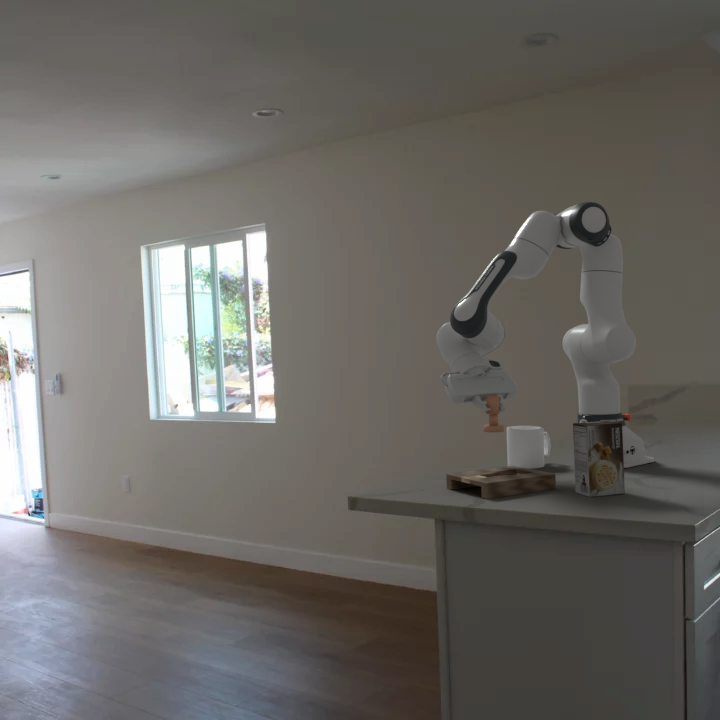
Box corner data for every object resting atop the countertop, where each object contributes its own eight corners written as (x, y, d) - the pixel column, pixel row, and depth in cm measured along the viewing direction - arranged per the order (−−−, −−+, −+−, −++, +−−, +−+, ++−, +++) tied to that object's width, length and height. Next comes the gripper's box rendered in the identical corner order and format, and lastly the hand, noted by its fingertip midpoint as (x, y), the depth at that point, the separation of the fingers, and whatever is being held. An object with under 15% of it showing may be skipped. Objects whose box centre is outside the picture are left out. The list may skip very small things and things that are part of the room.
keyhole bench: (512, 479, 202) (512, 465, 202) (555, 488, 188) (555, 473, 188) (446, 488, 193) (446, 473, 193) (487, 498, 179) (486, 483, 179)
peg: (495, 429, 208) (494, 395, 208) (507, 431, 204) (506, 395, 204) (479, 431, 206) (478, 396, 206) (491, 432, 201) (490, 397, 201)
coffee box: (609, 489, 186) (607, 420, 185) (625, 494, 179) (623, 422, 179) (574, 492, 183) (572, 422, 183) (589, 497, 177) (587, 425, 177)
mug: (534, 460, 233) (533, 423, 232) (561, 464, 224) (559, 426, 224) (499, 465, 225) (498, 427, 225) (526, 469, 217) (525, 430, 216)
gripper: (442, 365, 206) (465, 405, 197) (506, 362, 215) (531, 400, 207) (433, 382, 210) (456, 422, 201) (496, 378, 219) (520, 416, 211)
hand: (494, 411), depth 204 cm, fingers closed on peg, 3 cm apart
